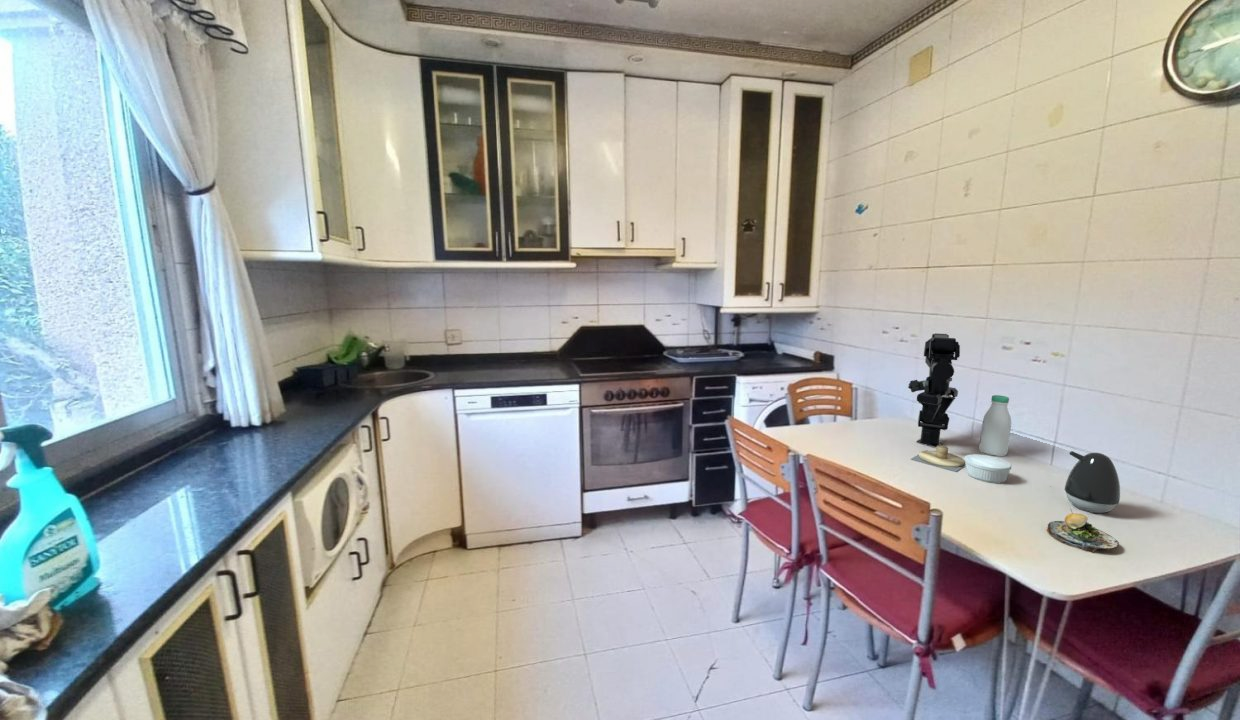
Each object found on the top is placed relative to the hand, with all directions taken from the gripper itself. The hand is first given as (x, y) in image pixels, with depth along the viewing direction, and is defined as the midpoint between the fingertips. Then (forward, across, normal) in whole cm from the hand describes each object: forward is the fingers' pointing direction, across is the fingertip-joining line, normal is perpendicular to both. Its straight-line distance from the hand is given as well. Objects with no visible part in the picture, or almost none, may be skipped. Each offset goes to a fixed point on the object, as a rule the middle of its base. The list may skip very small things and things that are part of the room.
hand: (934, 419), depth 160 cm
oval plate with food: (+12, +34, +43) cm, 56 cm away
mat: (+12, +6, +5) cm, 14 cm away
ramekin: (+12, +10, +18) cm, 24 cm away
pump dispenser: (+12, +12, +41) cm, 44 cm away
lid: (+12, +6, +5) cm, 14 cm away
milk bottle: (+12, -17, +13) cm, 25 cm away
